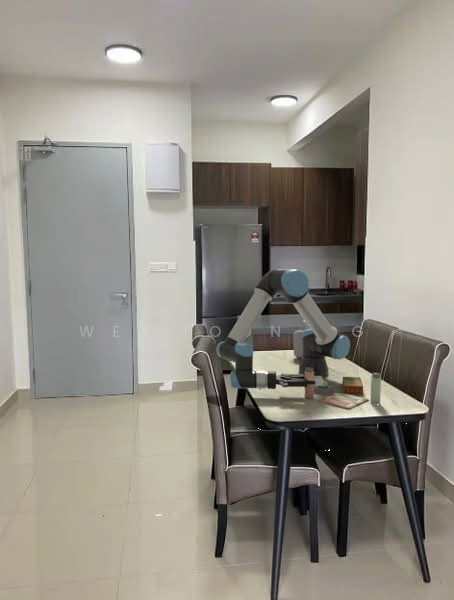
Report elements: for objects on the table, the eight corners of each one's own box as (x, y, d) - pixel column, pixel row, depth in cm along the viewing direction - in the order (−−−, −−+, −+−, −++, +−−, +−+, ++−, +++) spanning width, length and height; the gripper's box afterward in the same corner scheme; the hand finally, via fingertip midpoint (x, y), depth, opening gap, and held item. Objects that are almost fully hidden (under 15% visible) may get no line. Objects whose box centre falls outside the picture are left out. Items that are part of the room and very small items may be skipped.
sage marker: (373, 401, 190) (374, 372, 189) (381, 403, 187) (382, 373, 186) (368, 403, 187) (369, 373, 186) (377, 405, 184) (378, 375, 183)
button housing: (321, 389, 207) (321, 384, 207) (332, 392, 203) (333, 386, 203) (313, 392, 203) (313, 386, 203) (325, 394, 199) (325, 389, 199)
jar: (290, 355, 280) (290, 314, 277) (314, 354, 281) (314, 314, 278) (296, 362, 261) (297, 318, 259) (322, 361, 262) (322, 318, 259)
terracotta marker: (307, 394, 198) (308, 366, 197) (315, 396, 195) (315, 368, 194) (302, 396, 195) (303, 368, 194) (310, 398, 193) (310, 369, 191)
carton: (343, 394, 201) (343, 385, 200) (342, 384, 216) (342, 375, 216) (363, 395, 199) (363, 386, 198) (360, 385, 214) (360, 376, 214)
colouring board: (338, 393, 201) (338, 391, 201) (368, 400, 191) (368, 398, 191) (318, 401, 190) (318, 399, 190) (348, 409, 180) (348, 407, 180)
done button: (322, 385, 205) (322, 380, 205) (328, 386, 203) (328, 382, 203) (318, 386, 203) (318, 382, 203) (324, 388, 201) (324, 383, 200)
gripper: (266, 383, 205) (319, 383, 203) (266, 394, 188) (324, 395, 186) (266, 366, 204) (320, 367, 202) (266, 376, 187) (325, 377, 186)
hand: (322, 380), depth 194 cm, fingers closed on terracotta marker, 4 cm apart
